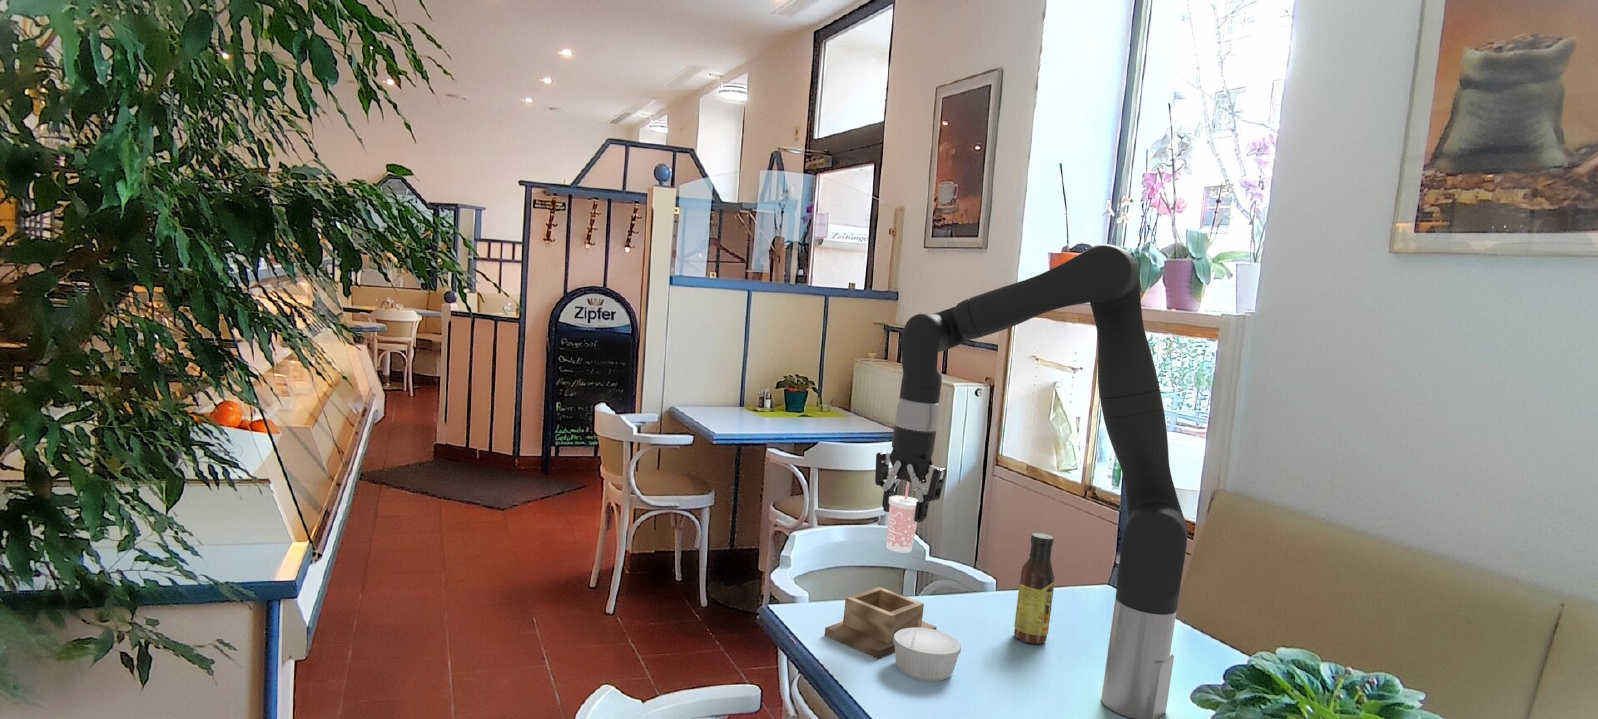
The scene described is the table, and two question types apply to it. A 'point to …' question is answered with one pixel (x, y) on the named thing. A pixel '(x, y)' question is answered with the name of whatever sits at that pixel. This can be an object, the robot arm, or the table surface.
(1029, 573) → the sauce bottle
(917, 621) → the cup holder
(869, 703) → the table surface
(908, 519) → the beverage cup
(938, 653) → the ramekin
